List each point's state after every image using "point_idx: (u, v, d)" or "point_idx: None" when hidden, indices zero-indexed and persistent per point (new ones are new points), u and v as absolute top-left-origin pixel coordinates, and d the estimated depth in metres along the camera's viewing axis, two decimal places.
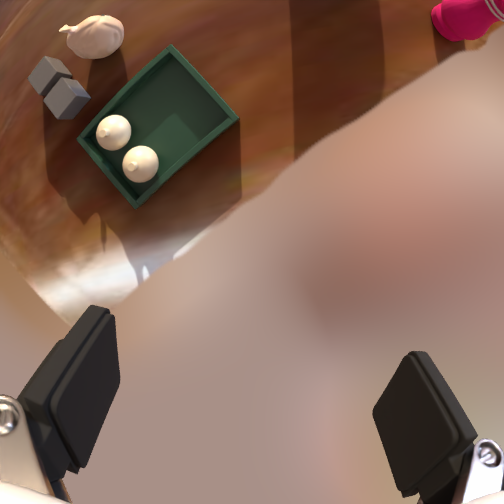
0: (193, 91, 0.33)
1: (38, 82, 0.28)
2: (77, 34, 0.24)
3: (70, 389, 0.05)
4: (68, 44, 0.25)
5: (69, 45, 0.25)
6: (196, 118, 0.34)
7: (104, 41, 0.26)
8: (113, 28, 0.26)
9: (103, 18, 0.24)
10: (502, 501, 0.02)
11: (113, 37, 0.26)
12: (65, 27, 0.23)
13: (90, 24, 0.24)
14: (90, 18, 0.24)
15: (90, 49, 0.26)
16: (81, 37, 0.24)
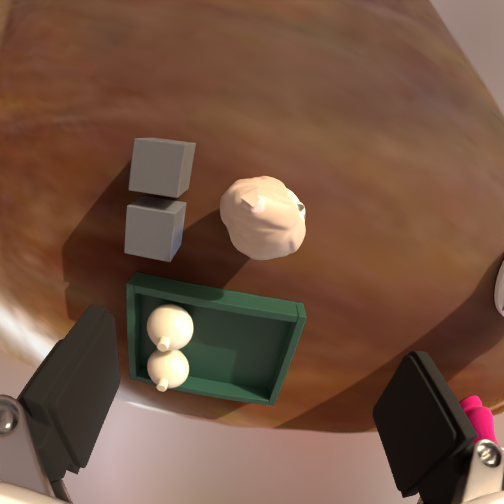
0: (269, 352, 0.31)
1: (142, 171, 0.21)
2: (252, 219, 0.20)
3: (70, 389, 0.05)
4: (227, 204, 0.21)
5: (227, 207, 0.21)
6: (246, 369, 0.32)
7: (264, 256, 0.23)
8: (289, 252, 0.23)
9: (298, 228, 0.22)
10: (502, 501, 0.02)
11: None
12: (252, 195, 0.19)
13: (279, 227, 0.20)
14: (288, 214, 0.20)
15: (241, 243, 0.22)
16: (251, 228, 0.21)
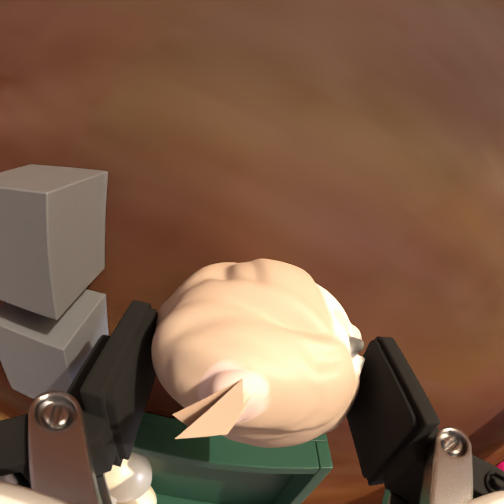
0: (271, 482, 0.17)
1: None
2: None
3: (124, 381, 0.06)
4: (159, 375, 0.06)
5: (159, 379, 0.07)
6: (238, 495, 0.18)
7: None
8: None
9: (348, 404, 0.08)
10: (502, 501, 0.02)
11: None
12: (223, 410, 0.05)
13: (304, 430, 0.07)
14: (333, 398, 0.06)
15: None
16: None
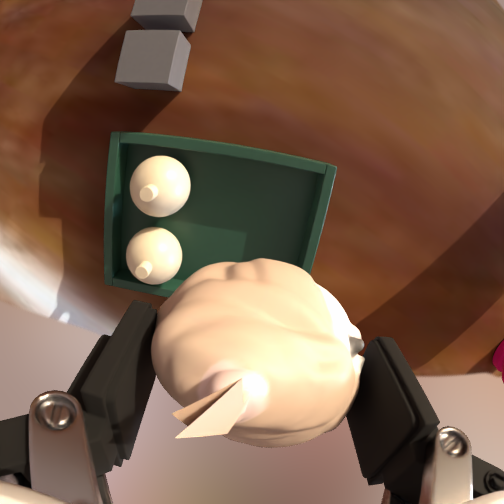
0: (289, 234, 0.25)
1: None
2: None
3: (125, 381, 0.06)
4: (158, 375, 0.07)
5: (159, 379, 0.07)
6: None
7: None
8: None
9: (347, 403, 0.08)
10: (502, 501, 0.02)
11: None
12: (223, 410, 0.05)
13: (304, 430, 0.07)
14: (333, 398, 0.06)
15: None
16: (228, 431, 0.07)
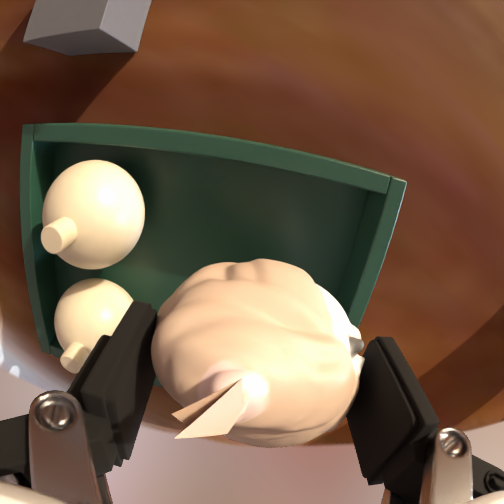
0: None
1: None
2: None
3: (125, 381, 0.06)
4: (158, 375, 0.07)
5: (159, 379, 0.07)
6: None
7: None
8: None
9: (347, 404, 0.08)
10: (502, 501, 0.02)
11: None
12: (223, 410, 0.05)
13: (304, 429, 0.07)
14: (333, 398, 0.06)
15: None
16: (228, 431, 0.07)
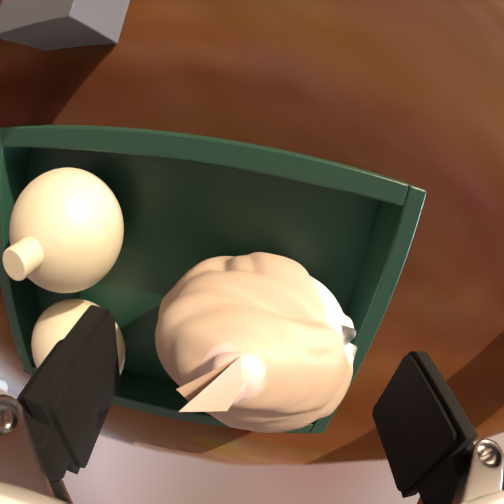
0: None
1: None
2: (229, 407, 0.07)
3: (70, 389, 0.05)
4: (162, 360, 0.07)
5: (162, 364, 0.07)
6: None
7: None
8: None
9: (341, 389, 0.08)
10: (502, 501, 0.02)
11: None
12: (223, 386, 0.05)
13: (299, 412, 0.07)
14: (326, 382, 0.07)
15: (210, 413, 0.09)
16: (228, 414, 0.07)
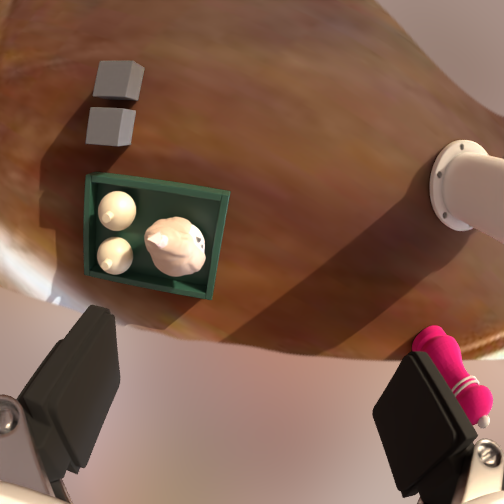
0: None
1: (103, 82, 0.25)
2: (160, 251, 0.29)
3: (70, 390, 0.05)
4: (145, 240, 0.29)
5: (145, 242, 0.29)
6: None
7: (175, 274, 0.32)
8: (193, 271, 0.32)
9: (195, 255, 0.31)
10: (502, 501, 0.02)
11: (185, 274, 0.32)
12: (156, 237, 0.27)
13: (178, 255, 0.29)
14: (185, 246, 0.29)
15: (158, 266, 0.31)
16: (161, 256, 0.30)
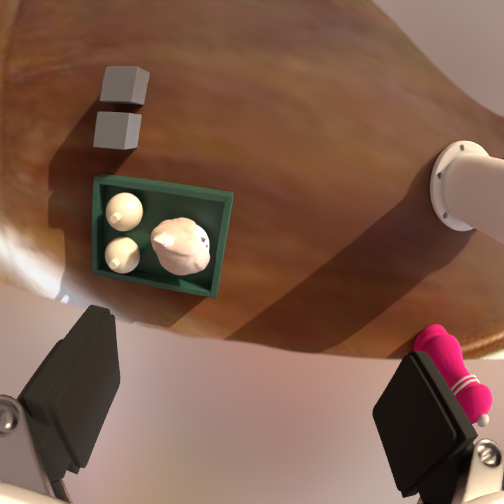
0: (209, 241, 0.37)
1: (109, 87, 0.27)
2: (166, 251, 0.30)
3: (70, 390, 0.05)
4: (152, 240, 0.31)
5: (152, 242, 0.31)
6: None
7: (180, 273, 0.33)
8: (197, 270, 0.33)
9: (199, 254, 0.32)
10: (502, 501, 0.02)
11: (190, 273, 0.34)
12: (162, 237, 0.29)
13: (184, 255, 0.31)
14: (190, 246, 0.31)
15: (164, 265, 0.33)
16: (166, 256, 0.31)
